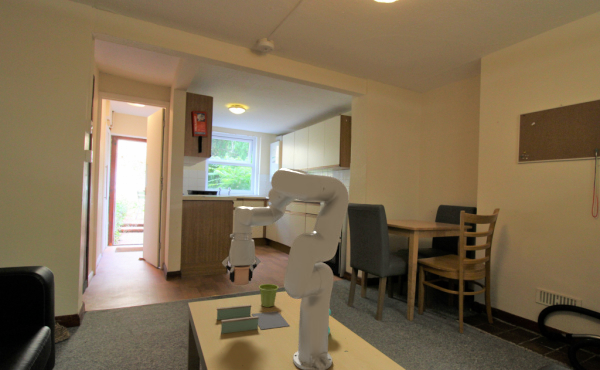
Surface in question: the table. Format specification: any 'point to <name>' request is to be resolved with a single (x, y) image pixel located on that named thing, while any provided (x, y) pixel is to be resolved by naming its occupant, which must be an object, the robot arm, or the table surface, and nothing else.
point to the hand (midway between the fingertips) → (240, 280)
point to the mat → (270, 320)
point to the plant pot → (268, 294)
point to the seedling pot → (241, 275)
